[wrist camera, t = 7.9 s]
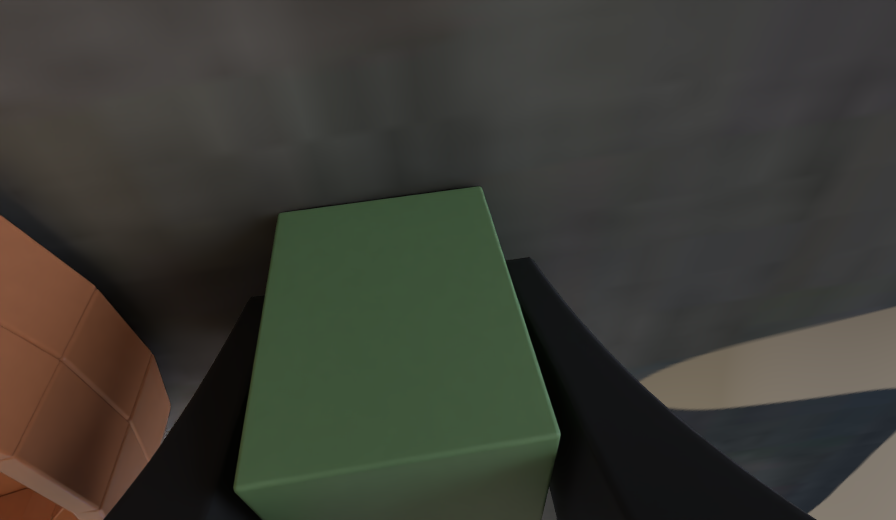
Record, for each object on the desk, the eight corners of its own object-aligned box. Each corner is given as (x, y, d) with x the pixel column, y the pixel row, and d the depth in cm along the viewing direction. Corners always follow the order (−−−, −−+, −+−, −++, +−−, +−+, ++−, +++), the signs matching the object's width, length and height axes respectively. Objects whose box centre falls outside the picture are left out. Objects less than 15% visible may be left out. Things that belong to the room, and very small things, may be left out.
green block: (483, 312, 13) (539, 536, 9) (325, 335, 13) (315, 576, 9) (481, 184, 10) (562, 436, 6) (276, 211, 10) (230, 492, 6)
